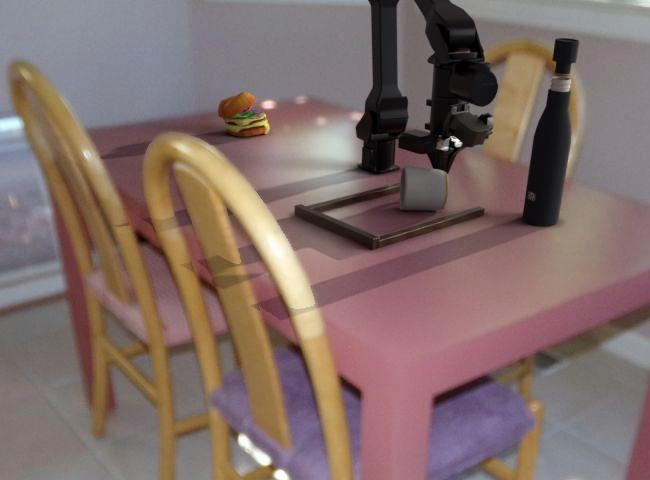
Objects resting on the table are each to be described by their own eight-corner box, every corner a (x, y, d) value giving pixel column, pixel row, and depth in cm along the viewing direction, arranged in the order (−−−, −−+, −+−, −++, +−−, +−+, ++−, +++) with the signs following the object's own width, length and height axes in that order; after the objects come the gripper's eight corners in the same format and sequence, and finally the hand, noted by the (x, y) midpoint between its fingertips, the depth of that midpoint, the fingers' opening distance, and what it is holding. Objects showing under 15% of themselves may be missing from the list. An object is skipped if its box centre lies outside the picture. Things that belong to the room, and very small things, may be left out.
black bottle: (560, 217, 145) (590, 39, 129) (555, 228, 140) (585, 44, 124) (525, 212, 146) (550, 35, 131) (518, 222, 141) (544, 40, 126)
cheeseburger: (267, 138, 181) (255, 94, 176) (223, 148, 182) (209, 104, 177) (273, 127, 190) (262, 84, 185) (230, 136, 191) (217, 93, 186)
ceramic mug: (448, 216, 142) (452, 173, 138) (403, 215, 141) (405, 172, 138) (438, 198, 151) (441, 157, 148) (395, 197, 150) (397, 156, 147)
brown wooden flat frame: (405, 186, 156) (406, 177, 155) (484, 214, 144) (485, 205, 143) (294, 215, 139) (294, 205, 138) (372, 249, 127) (373, 239, 126)
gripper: (446, 110, 129) (439, 204, 137) (517, 96, 140) (507, 183, 148) (398, 98, 135) (394, 188, 144) (469, 85, 147) (461, 169, 155)
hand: (441, 182), depth 148 cm, fingers closed
